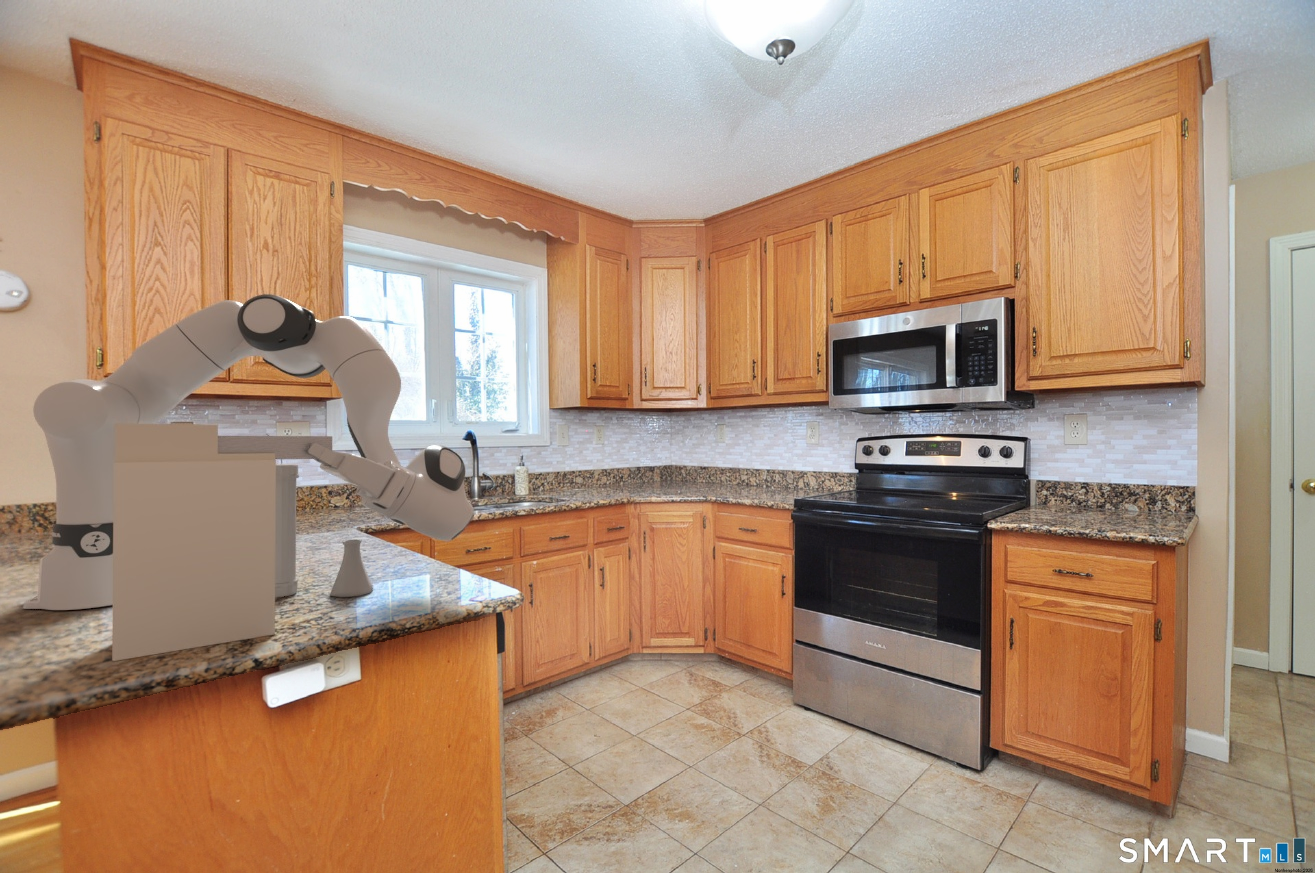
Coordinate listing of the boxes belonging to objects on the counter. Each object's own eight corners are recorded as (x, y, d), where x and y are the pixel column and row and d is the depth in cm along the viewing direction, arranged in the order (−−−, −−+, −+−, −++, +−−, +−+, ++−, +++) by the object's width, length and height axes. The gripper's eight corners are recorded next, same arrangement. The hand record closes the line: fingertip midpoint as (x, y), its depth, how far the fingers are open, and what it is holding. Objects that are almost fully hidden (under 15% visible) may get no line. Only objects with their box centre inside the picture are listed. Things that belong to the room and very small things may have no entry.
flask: (361, 598, 109) (361, 544, 109) (321, 598, 109) (322, 543, 110) (380, 588, 117) (380, 537, 117) (343, 588, 117) (343, 537, 117)
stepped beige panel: (119, 640, 86) (121, 424, 86) (268, 617, 97) (269, 426, 97) (112, 661, 78) (114, 423, 78) (274, 634, 89) (276, 425, 89)
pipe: (281, 599, 109) (282, 433, 109) (252, 597, 110) (253, 433, 110) (305, 591, 114) (306, 433, 114) (277, 589, 115) (278, 433, 115)
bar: (191, 459, 89) (191, 435, 89) (328, 457, 100) (328, 436, 100) (191, 460, 86) (191, 435, 86) (332, 458, 97) (332, 436, 97)
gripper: (380, 467, 113) (307, 430, 105) (411, 473, 96) (327, 429, 89) (361, 497, 111) (286, 461, 104) (389, 508, 95) (303, 466, 87)
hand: (305, 446), depth 96 cm, fingers open, 8 cm apart
